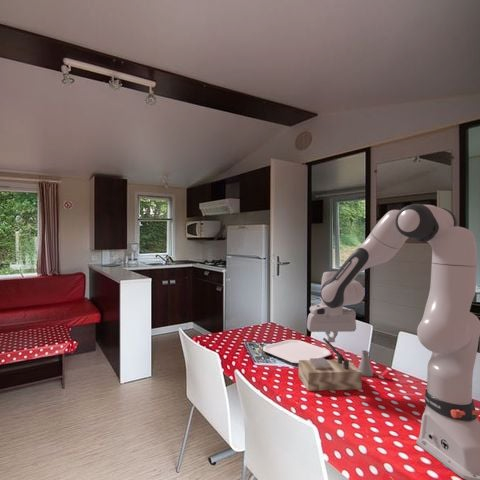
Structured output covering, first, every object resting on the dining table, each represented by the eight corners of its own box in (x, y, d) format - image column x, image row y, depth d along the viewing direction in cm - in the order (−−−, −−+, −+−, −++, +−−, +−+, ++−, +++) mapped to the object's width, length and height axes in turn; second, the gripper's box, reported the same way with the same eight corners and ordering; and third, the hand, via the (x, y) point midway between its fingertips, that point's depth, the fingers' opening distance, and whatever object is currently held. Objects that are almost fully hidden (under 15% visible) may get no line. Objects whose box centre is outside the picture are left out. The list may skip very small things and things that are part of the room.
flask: (375, 378, 138) (375, 355, 138) (357, 376, 139) (358, 353, 139) (371, 371, 145) (372, 349, 145) (355, 369, 146) (355, 348, 146)
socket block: (347, 375, 139) (347, 351, 140) (361, 389, 127) (362, 363, 127) (298, 376, 137) (299, 352, 137) (307, 390, 124) (308, 363, 124)
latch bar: (340, 358, 134) (341, 356, 135) (344, 362, 130) (345, 360, 131) (322, 339, 134) (324, 337, 134) (326, 342, 130) (327, 340, 130)
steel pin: (329, 383, 129) (330, 364, 129) (314, 384, 128) (315, 364, 128) (323, 376, 135) (324, 358, 135) (309, 377, 134) (309, 358, 134)
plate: (299, 370, 145) (299, 365, 145) (257, 351, 167) (257, 347, 167) (336, 356, 163) (336, 352, 163) (293, 341, 186) (293, 338, 186)
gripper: (352, 307, 136) (351, 339, 136) (306, 307, 134) (305, 339, 134) (359, 310, 130) (358, 344, 130) (310, 310, 128) (310, 344, 128)
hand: (331, 342), depth 132 cm, fingers closed
